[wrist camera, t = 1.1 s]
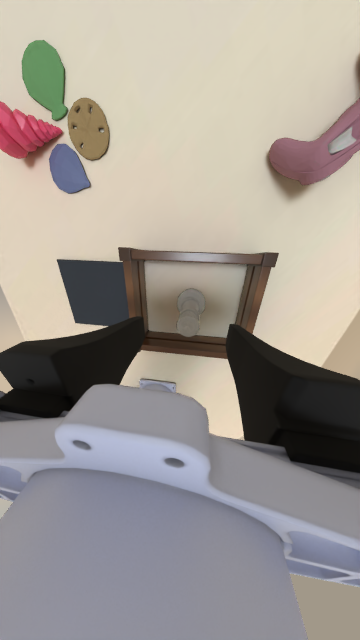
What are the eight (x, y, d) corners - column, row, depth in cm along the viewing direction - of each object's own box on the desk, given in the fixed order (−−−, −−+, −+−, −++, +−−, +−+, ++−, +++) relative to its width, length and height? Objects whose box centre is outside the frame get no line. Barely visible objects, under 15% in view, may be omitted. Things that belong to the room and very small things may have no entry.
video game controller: (272, 195, 17) (326, 196, 12) (261, 151, 14) (326, 128, 9) (367, 105, 14) (499, 55, 9) (377, 25, 11) (580, -119, 6)
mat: (132, 327, 25) (131, 328, 25) (77, 322, 26) (75, 323, 26) (124, 262, 21) (123, 262, 20) (58, 259, 22) (56, 259, 21)
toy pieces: (58, 215, 19) (21, 203, 15) (-11, 111, 16) (-81, 61, 12) (124, 157, 16) (100, 123, 12) (56, 11, 13) (-9, -105, 9)
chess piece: (187, 319, 23) (182, 357, 14) (172, 298, 22) (155, 324, 13) (210, 305, 22) (219, 337, 13) (195, 282, 21) (193, 299, 12)
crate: (237, 344, 24) (246, 363, 20) (142, 335, 26) (131, 351, 21) (259, 254, 18) (279, 252, 14) (135, 250, 20) (118, 247, 16)
